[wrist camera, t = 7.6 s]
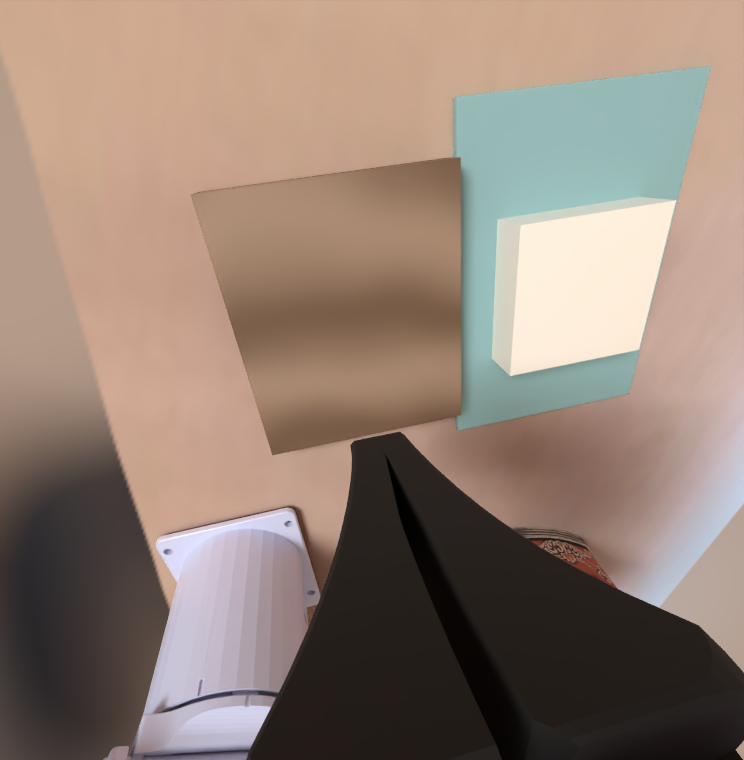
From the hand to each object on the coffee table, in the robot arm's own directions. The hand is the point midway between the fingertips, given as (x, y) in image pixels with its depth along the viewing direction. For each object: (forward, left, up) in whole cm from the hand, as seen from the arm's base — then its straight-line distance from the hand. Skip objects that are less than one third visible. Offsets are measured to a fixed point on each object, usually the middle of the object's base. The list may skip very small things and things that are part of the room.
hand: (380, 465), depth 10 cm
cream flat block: (+1, -11, -10) cm, 15 cm away
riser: (+1, -1, -10) cm, 10 cm away
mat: (+1, -11, -10) cm, 15 cm away
